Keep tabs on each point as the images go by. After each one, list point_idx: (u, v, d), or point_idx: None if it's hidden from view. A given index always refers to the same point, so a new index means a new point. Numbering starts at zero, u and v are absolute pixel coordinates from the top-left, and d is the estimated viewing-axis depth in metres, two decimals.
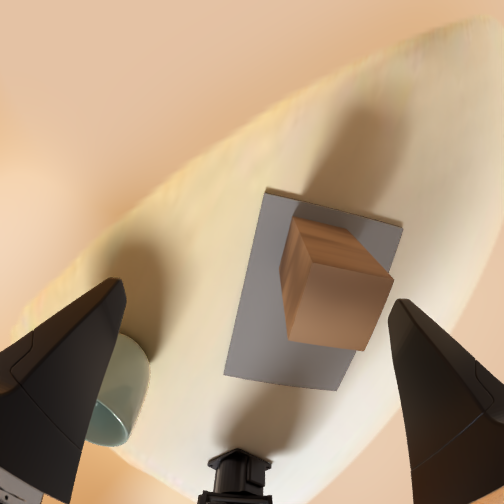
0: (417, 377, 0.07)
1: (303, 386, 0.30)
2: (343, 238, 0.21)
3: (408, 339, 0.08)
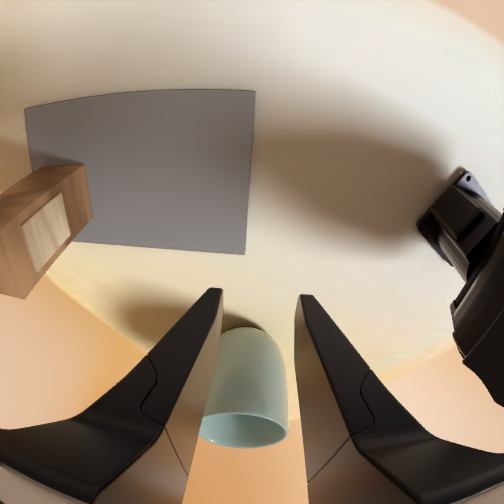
0: (307, 381, 0.07)
1: (247, 148, 0.19)
2: None
3: (302, 338, 0.08)
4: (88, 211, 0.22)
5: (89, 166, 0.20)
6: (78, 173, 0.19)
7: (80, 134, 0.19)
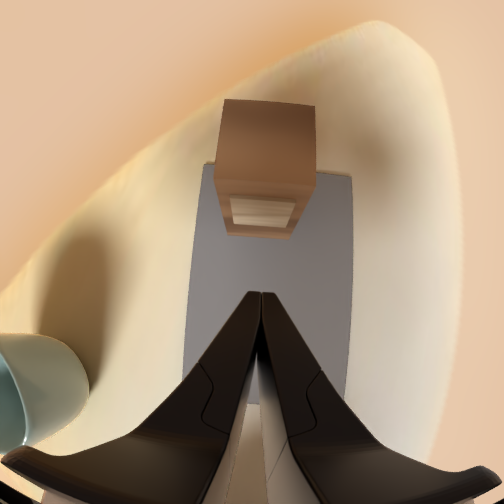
0: (263, 380, 0.07)
1: None
2: None
3: (260, 336, 0.08)
4: (237, 234, 0.23)
5: (285, 244, 0.23)
6: (285, 235, 0.22)
7: (319, 240, 0.23)
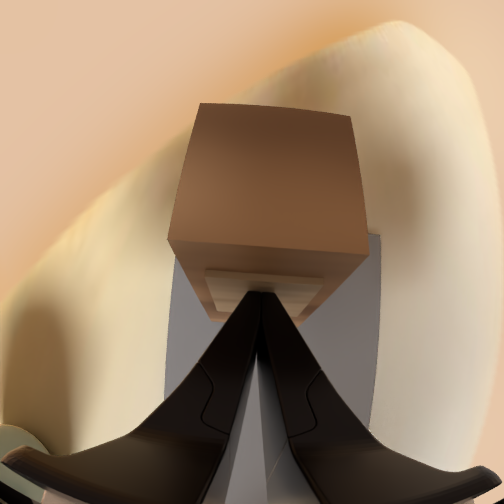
0: (263, 380, 0.07)
1: None
2: None
3: (260, 336, 0.08)
4: (225, 320, 0.15)
5: None
6: (294, 323, 0.15)
7: (335, 327, 0.17)
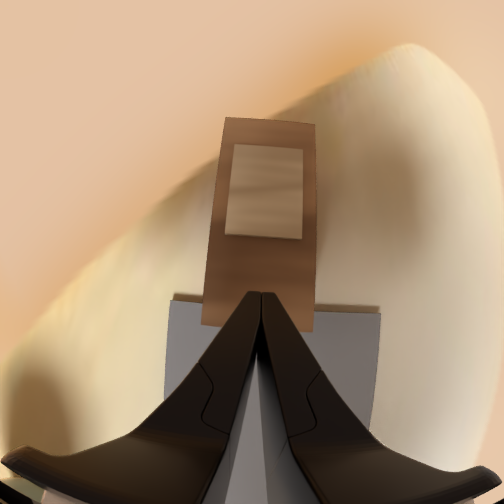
0: (263, 380, 0.07)
1: None
2: None
3: (260, 336, 0.08)
4: (220, 313, 0.12)
5: None
6: (305, 305, 0.12)
7: None
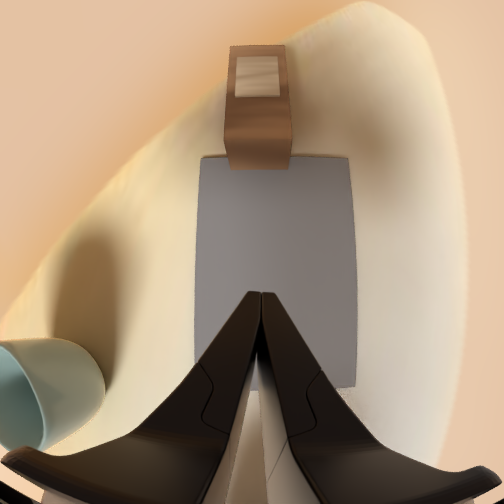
0: (263, 380, 0.07)
1: None
2: None
3: (260, 336, 0.08)
4: (235, 133, 0.20)
5: (286, 230, 0.23)
6: (285, 126, 0.20)
7: (320, 223, 0.23)
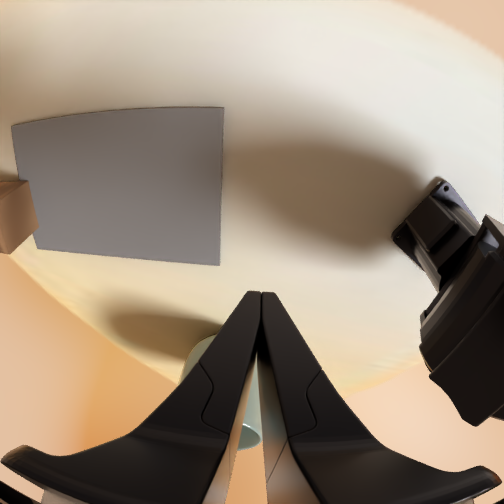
0: (263, 380, 0.07)
1: (217, 164, 0.20)
2: None
3: (260, 336, 0.08)
4: (3, 246, 0.19)
5: (71, 181, 0.21)
6: None
7: (62, 151, 0.19)
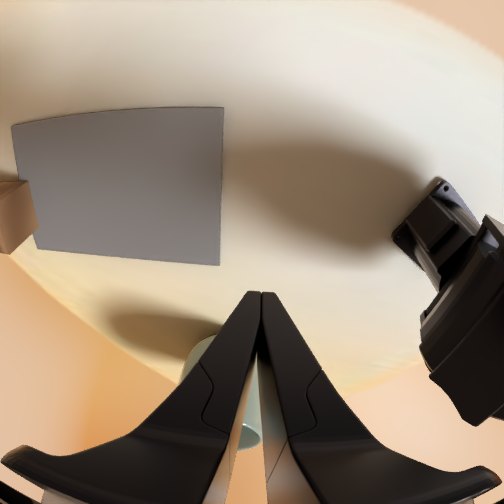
0: (263, 380, 0.07)
1: (217, 164, 0.20)
2: None
3: (260, 336, 0.08)
4: (3, 246, 0.19)
5: (71, 181, 0.21)
6: None
7: (62, 151, 0.19)
